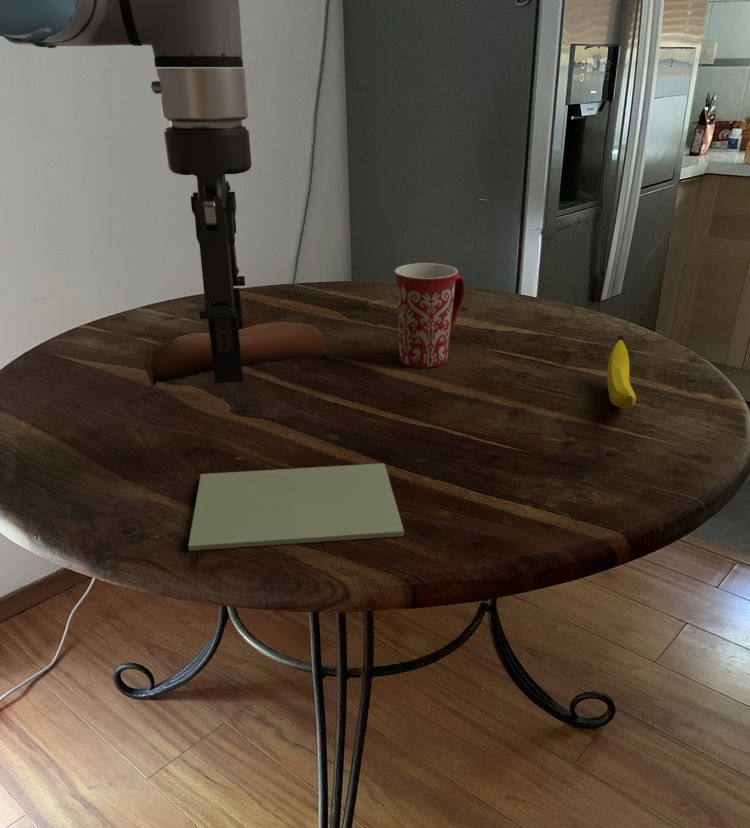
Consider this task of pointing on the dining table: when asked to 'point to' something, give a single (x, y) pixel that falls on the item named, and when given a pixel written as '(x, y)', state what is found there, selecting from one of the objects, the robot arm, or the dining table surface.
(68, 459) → the dining table surface
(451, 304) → the mug
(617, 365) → the banana
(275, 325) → the sunglasses case
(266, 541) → the mat
